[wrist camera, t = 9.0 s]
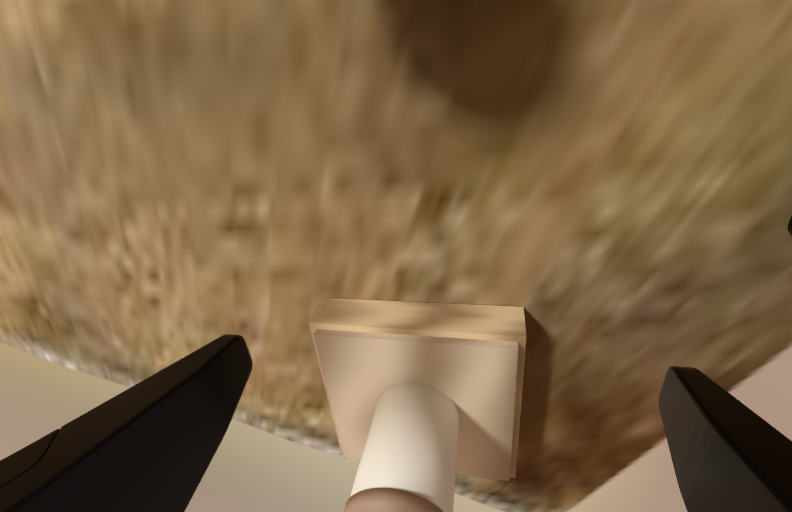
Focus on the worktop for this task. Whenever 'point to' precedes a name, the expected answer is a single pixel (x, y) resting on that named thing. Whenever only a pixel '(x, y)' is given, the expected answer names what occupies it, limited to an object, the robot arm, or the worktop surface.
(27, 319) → the worktop surface
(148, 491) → the robot arm
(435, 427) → the spice tin
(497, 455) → the block
